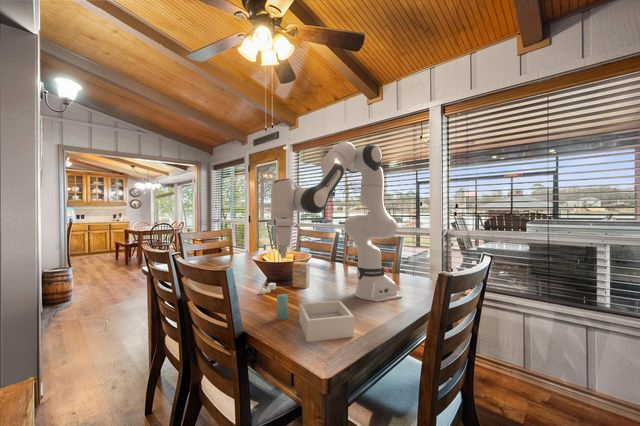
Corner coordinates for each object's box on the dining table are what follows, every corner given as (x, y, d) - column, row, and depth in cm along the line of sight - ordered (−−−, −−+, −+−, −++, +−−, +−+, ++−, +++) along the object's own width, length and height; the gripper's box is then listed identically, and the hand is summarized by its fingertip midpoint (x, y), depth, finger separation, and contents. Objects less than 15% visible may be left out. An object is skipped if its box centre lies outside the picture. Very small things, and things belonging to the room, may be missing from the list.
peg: (286, 315, 115) (286, 293, 115) (288, 319, 111) (288, 296, 111) (276, 316, 114) (276, 294, 114) (277, 320, 110) (277, 297, 110)
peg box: (340, 318, 113) (340, 300, 112) (354, 336, 97) (354, 316, 97) (299, 322, 109) (299, 303, 109) (307, 341, 93) (307, 320, 93)
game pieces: (270, 288, 153) (270, 282, 153) (276, 289, 152) (276, 283, 152) (258, 295, 142) (258, 288, 142) (264, 295, 141) (264, 289, 141)
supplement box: (292, 287, 154) (292, 263, 153) (296, 284, 158) (296, 261, 158) (306, 288, 151) (306, 264, 150) (310, 286, 155) (309, 262, 155)
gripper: (272, 219, 121) (272, 251, 122) (276, 221, 101) (275, 260, 102) (287, 219, 123) (287, 251, 123) (293, 221, 103) (293, 260, 103)
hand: (282, 255), depth 112 cm, fingers open, 8 cm apart
